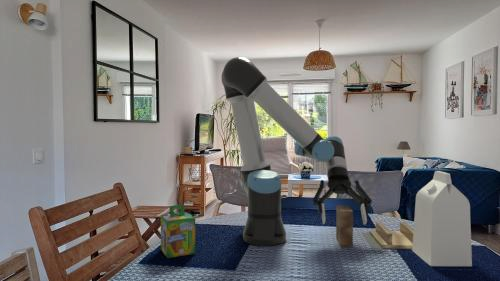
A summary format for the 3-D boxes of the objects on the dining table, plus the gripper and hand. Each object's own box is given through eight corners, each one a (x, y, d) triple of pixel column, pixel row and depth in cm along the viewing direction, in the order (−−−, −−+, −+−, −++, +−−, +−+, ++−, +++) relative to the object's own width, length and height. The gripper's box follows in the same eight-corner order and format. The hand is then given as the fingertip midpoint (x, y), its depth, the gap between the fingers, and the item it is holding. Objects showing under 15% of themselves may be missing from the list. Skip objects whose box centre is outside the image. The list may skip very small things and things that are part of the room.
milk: (472, 267, 100) (474, 175, 99) (430, 267, 100) (432, 175, 99) (449, 251, 112) (450, 169, 111) (412, 251, 112) (413, 169, 111)
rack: (381, 247, 115) (381, 234, 114) (369, 233, 130) (369, 221, 129) (426, 248, 114) (426, 234, 113) (409, 234, 129) (409, 221, 128)
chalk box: (167, 259, 107) (166, 210, 106) (160, 249, 115) (159, 204, 114) (196, 254, 111) (196, 207, 111) (187, 245, 119) (187, 201, 119)
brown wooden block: (340, 247, 116) (340, 211, 116) (336, 239, 124) (336, 205, 124) (352, 247, 116) (353, 211, 115) (347, 239, 124) (348, 205, 123)
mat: (372, 249, 114) (372, 248, 114) (360, 233, 130) (360, 232, 130) (436, 250, 113) (436, 249, 113) (417, 234, 129) (417, 233, 129)
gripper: (369, 177, 136) (380, 228, 121) (303, 177, 137) (306, 227, 123) (373, 165, 130) (385, 217, 116) (304, 165, 132) (307, 216, 118)
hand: (344, 222), depth 120 cm, fingers open, 13 cm apart
